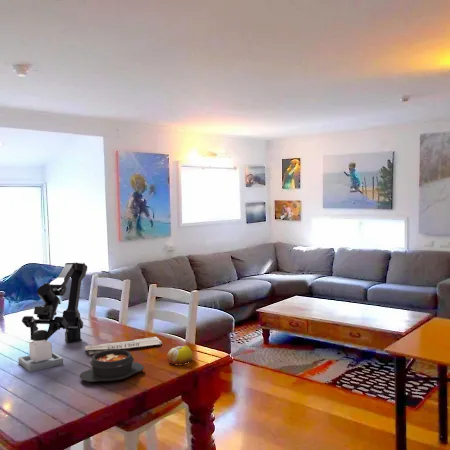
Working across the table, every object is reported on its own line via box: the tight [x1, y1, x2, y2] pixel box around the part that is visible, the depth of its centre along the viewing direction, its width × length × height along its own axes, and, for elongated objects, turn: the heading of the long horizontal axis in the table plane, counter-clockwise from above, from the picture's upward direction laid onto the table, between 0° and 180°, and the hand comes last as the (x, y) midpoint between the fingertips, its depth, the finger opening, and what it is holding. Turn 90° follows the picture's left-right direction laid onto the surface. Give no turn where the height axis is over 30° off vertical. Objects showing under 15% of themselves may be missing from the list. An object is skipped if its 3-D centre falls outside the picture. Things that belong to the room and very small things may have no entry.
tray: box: [17, 350, 64, 373], centre depth 202 cm, size 14×14×2 cm
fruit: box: [166, 345, 194, 366], centre depth 202 cm, size 11×10×8 cm
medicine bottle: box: [28, 329, 53, 362], centre depth 202 cm, size 7×7×12 cm
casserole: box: [79, 350, 144, 383], centre depth 187 cm, size 25×19×8 cm
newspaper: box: [84, 336, 163, 356], centre depth 221 cm, size 35×12×4 cm, turn 114°
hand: (38, 339), depth 200 cm, fingers closed on medicine bottle, 6 cm apart
